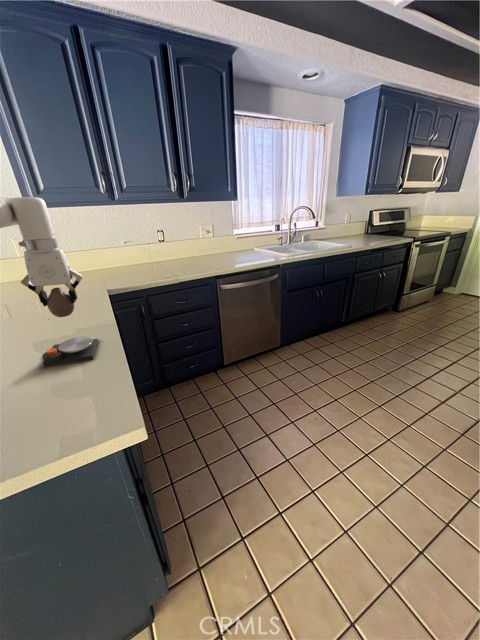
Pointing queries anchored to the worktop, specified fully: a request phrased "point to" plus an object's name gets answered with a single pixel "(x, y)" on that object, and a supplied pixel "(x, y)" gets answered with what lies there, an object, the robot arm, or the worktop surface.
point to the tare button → (52, 352)
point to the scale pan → (75, 344)
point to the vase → (60, 303)
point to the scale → (70, 355)
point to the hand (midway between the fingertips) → (60, 302)
